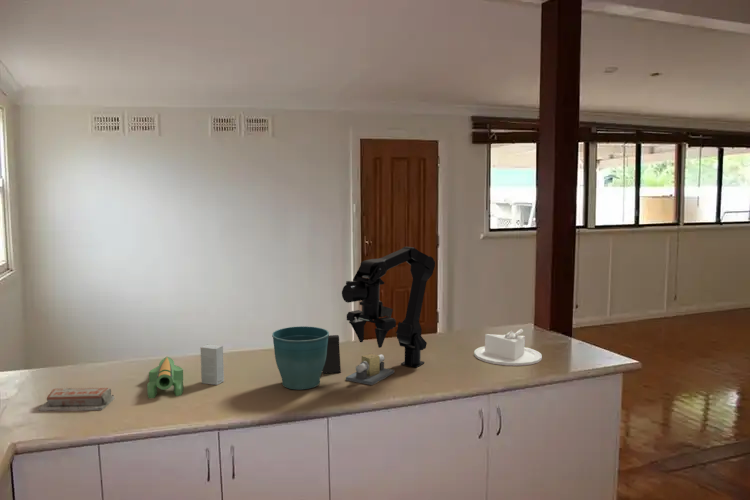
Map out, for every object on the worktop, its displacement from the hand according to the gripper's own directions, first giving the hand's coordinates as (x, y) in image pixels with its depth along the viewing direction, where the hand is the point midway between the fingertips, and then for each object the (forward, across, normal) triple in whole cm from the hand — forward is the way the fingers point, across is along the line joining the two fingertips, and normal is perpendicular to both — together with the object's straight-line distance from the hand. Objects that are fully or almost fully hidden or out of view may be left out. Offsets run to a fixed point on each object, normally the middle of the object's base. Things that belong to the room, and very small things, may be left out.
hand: (370, 344), depth 205 cm
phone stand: (+11, +15, +5) cm, 20 cm away
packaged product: (+12, +38, +81) cm, 90 cm away
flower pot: (+11, +9, +22) cm, 26 cm away
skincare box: (+11, +30, +42) cm, 53 cm away
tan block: (+10, 0, 0) cm, 10 cm away
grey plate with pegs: (+11, 0, 0) cm, 11 cm away
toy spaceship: (+11, +41, +53) cm, 68 cm away
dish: (+11, -17, -55) cm, 58 cm away
